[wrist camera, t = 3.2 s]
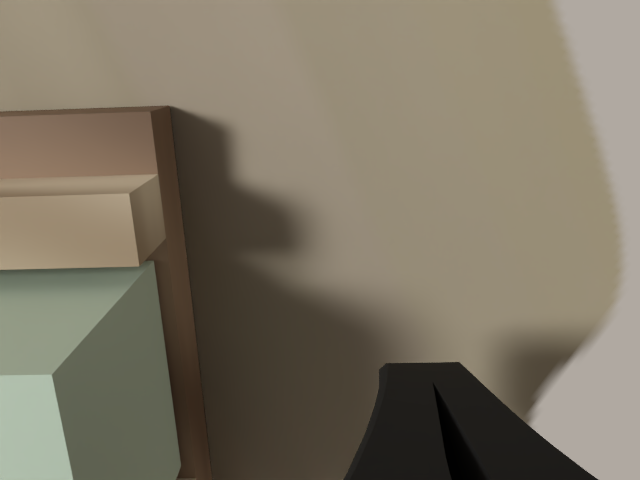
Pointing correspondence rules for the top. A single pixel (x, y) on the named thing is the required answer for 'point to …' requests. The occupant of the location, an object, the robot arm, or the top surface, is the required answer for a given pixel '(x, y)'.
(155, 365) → the block
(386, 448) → the robot arm
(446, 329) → the top surface
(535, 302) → the top surface
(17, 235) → the track
